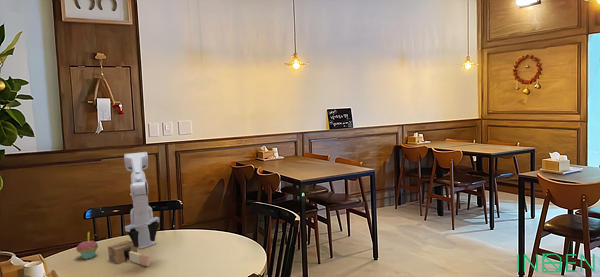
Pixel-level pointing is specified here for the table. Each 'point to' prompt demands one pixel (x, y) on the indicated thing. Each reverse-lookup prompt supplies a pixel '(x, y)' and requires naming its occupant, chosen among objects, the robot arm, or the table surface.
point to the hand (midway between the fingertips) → (144, 243)
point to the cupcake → (87, 248)
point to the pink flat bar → (139, 258)
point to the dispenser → (120, 251)
